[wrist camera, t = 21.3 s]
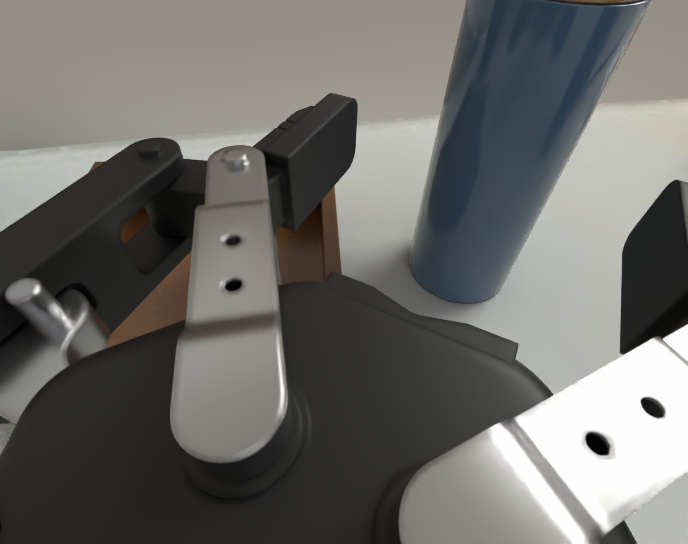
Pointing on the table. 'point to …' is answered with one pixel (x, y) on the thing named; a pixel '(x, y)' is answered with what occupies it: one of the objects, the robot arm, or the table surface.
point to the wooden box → (293, 253)
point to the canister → (510, 131)
